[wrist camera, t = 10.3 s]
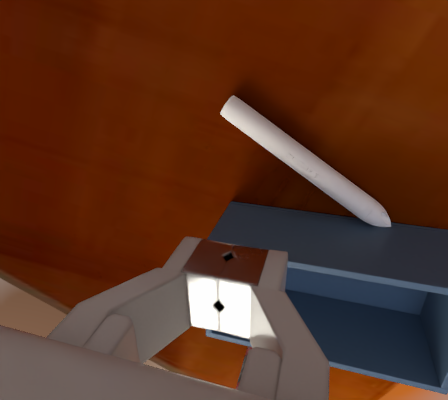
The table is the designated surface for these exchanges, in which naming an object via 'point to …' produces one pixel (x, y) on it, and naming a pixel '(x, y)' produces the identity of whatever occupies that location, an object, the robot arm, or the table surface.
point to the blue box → (357, 288)
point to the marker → (305, 162)
